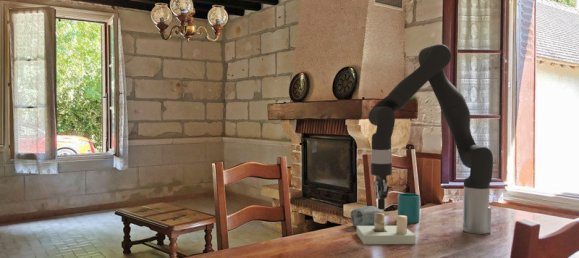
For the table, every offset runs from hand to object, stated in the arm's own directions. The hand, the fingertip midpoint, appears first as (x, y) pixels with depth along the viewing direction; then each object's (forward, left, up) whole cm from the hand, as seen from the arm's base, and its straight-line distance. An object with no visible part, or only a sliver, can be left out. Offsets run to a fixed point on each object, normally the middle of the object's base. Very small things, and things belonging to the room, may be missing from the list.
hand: (381, 209), depth 169 cm
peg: (+1, +1, -11) cm, 11 cm away
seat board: (-1, +1, -11) cm, 11 cm away
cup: (-19, -27, -11) cm, 35 cm away
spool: (+2, -17, -11) cm, 21 cm away
